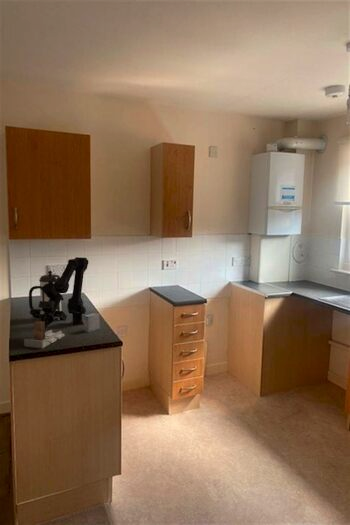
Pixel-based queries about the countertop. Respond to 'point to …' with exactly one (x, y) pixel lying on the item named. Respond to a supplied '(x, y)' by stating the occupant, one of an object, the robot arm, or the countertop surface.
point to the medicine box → (91, 322)
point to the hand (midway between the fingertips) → (41, 329)
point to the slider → (39, 330)
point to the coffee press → (43, 281)
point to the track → (41, 344)
